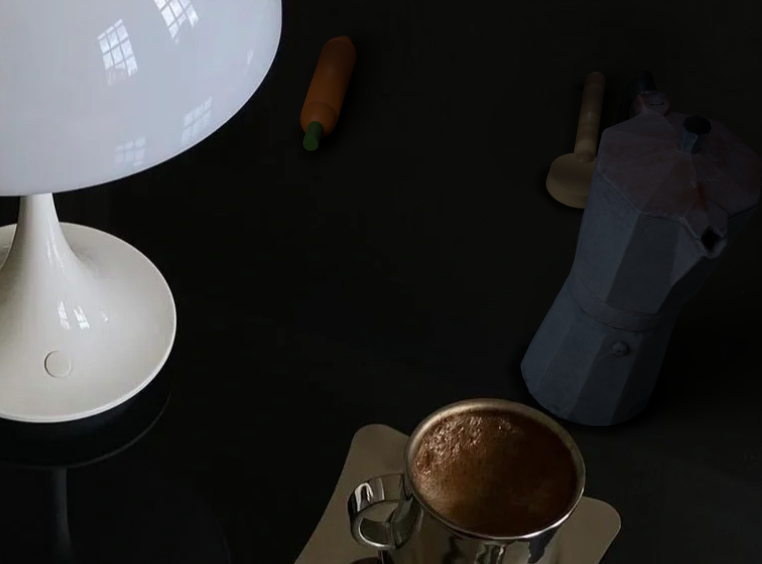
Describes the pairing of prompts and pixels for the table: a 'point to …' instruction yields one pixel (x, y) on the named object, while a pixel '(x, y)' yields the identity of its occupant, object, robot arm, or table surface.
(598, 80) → the spoon
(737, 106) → the table surface
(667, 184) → the moka pot
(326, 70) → the carrot
